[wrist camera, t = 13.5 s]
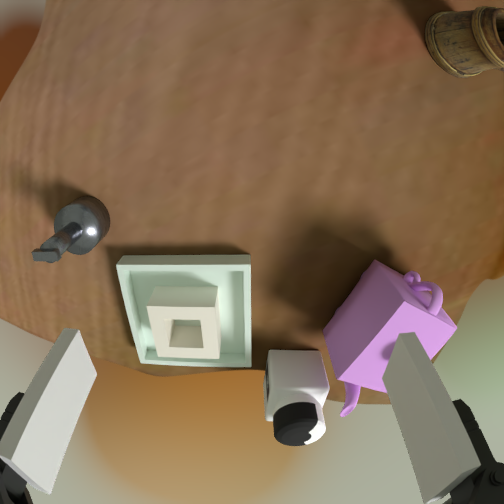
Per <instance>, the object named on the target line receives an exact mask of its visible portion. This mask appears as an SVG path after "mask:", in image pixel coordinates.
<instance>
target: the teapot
mask: <svg viewBox="0 0 504 504" xmlns="http://www.w3.org/2000/svg"><path fill="white" fill-rule="evenodd" d="M420 280H421V279H420V275H419V274H418V273H417V272H415V271H409V272H408V273H406V274H405V275H402V274H400V273H398V272H396V271H395V270H393V269H391V268H389V267H388V266H386V265H384V264H382V263H381V262H379V261H377V260H375V259H374V260H373V262H372V263H371V265H370V266H369V268H368V269H367V270H366V271H365V272H363V274H362V275H361V278H360V280H359V282H358V283H357V285H356V286H355V287H354V289H353V290H352V292H351V293H350V294H349V296H348V297H347V298H346V300H345V301H344V303H343V304H342V305H341V306H340V307H339V308H337V310H336V311H335V315H334V316H333V317H332V319H331V320H330V321H329V322H328V324H327V325H326V326H325V328H324V329H323V330H322V331H323V334H324V338H325V341H326V344H327V348H328V351H329V355H330V358H331V362H332V365H333V369H334V372H335V376H336V379H338V380H342V381H344V384H345V389H346V400H345V404H344V407H343V409H342V411H341V413H340V416H341V417H344V416H346V415H348V414H349V413H350V412H351V411H352V410H353V409H354V408H355V406H356V404H357V401H358V398H359V393H360V387H361V386H362V387H366V388H369V389H373V390H377V391H381V392H385V393H387V391H386V388H385V385H384V383H383V380H382V377H383V374H384V372H385V369H386V367H387V364H388V362H389V359H390V357H391V354H392V351H393V349H394V346H395V343H396V340H397V338H398V335H399V333H409V332H415V334H416V335H417V337H418V339H419V341H420V342H421V344H422V346H423V348H424V349H425V351H426V353H427V355H428V357H429V358H430V360H431V359H432V358H433V357H434V356H435V355H436V353H437V352H438V351H439V350H440V349H441V348H442V346H443V345H444V344H445V343H446V342H447V341H448V339H449V338H450V337H451V336H452V334H453V333H454V332H455V331H456V329H457V326H456V325H455V324H454V323H453V321H452V320H451V319H450V317H449V316H448V315H447V314H446V312H445V311H444V310H443V309H442V307H441V306H442V301H443V293H442V290H441V289H440V287H439V286H438V285H437V284H435V283H433V282H428V281H423V282H420ZM428 290H430V291H432V295H431V294H430V293H429V291H428Z"/></svg>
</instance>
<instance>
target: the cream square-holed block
mask: <svg viewBox="0 0 504 504" xmlns="http://www.w3.org/2000/svg"><path fill="white" fill-rule="evenodd" d="M147 311H148V316H149V320H150V325H151V329H152V334H153V338H154V342H155V346H156V351H157V355H158V357H174V358H198V359H219V357H220V348H221V338H222V335H221V321H220V307H219V293H218V287H194V286H156V287H155V289H154V291H153V293H152V295H151V297H150V299H149V301H148V304H147ZM175 319H178V320H200V322H201V326H179V325H175Z"/></svg>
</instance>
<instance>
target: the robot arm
mask: <svg viewBox="0 0 504 504" xmlns="http://www.w3.org/2000/svg"><path fill="white" fill-rule="evenodd" d="M96 376H97V373H96V371H95V368H94V366H93V364H92V361H91V359H90V357H89V354H88V352H87V349H86V347H85V344H84V342H83V339H82V337H81V334H80V331H79V330H78V329H70V328H64V329H63V331H62V333H61V334H60V336H59V337H58V339H57V340H56V342H55V343H54V345H53V347H52V349H51V350H50V352H49V353H48V355H47V356H46V358H45V360H44V361H43V363H42V365H41V366H40V368H39V370H38V371H37V373H36V375H35V377H34V378H33V380H32V382H31V384H30V385H29V387H28V389H27V391H26V392H25V394H24V393H20V392H19V393H18V394H17V395H15V396H14V397H13V398H12V399H11V400H10V402H9V404H8V405H7V407H6V409H5V412H4V413H3V415H2V417H1V420H0V504H33V502H32V499H31V497H30V494H29V491H28V490H27V488H26V484H27V482H28V483H29V484H30V485H31V486H32V487H34V488H35V489H37V490H40V491H42V492H44V493H47V494H51V492H52V489H53V486H54V483H55V480H56V477H57V474H58V471H59V468H60V465H61V462H62V460H63V457H64V454H65V451H66V449H67V446H68V443H69V441H70V438H71V436H72V433H73V430H74V428H75V425H76V423H77V420H78V418H79V415H80V413H81V410H82V408H83V406H84V403H85V401H86V399H87V396H88V394H89V392H90V389H91V387H92V385H93V382H94V380H95V378H96ZM382 380H383V383H384V385H385V388H386V391H387V393H388V396H389V399H390V401H391V404H392V407H393V410H394V412H395V415H396V418H397V421H398V424H399V426H400V429H401V432H402V435H403V438H404V441H405V444H406V447H407V450H408V453H409V456H410V459H411V462H412V465H413V469H414V472H415V475H416V478H417V482H418V485H419V488H420V492H421V495H422V499H423V502H424V504H428V503H431V502H433V501H436V500H439V499H442V498H443V497H444V496H446V495H447V494H448V493H449V492H450V495H451V498H450V499H448V500H447V501H446V502H444V503H443V504H504V464H503V463H499V462H496V461H495V459H494V457H493V455H492V453H491V451H490V449H489V446H488V444H487V442H486V440H485V438H484V436H483V433H482V431H481V429H479V425H478V423H477V421H475V417H474V415H473V413H472V411H471V409H470V407H469V406H467V405H466V404H465V403H464V402H463V401H462V400H461V399H459V400H455V401H451V398H450V396H449V394H448V392H447V391H446V388H445V387H444V385H443V383H442V381H441V379H440V377H439V375H438V373H437V371H436V369H435V368H434V366H433V364H432V362H431V360H430V358H429V357H428V355H427V353H426V351H425V349H424V348H423V346H422V344H421V342H420V341H419V339H418V337H417V335H416V334H415V332H409V333H399V335H398V338H397V340H396V343H395V346H394V349H393V351H392V354H391V357H390V359H389V362H388V364H387V367H386V369H385V372H384V374H383V377H382Z"/></svg>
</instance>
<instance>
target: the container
mask: <svg viewBox="0 0 504 504" xmlns="http://www.w3.org/2000/svg"><path fill="white" fill-rule="evenodd" d="M263 385H264V405H265V419H266V420H267V421H273V426H274V437H275V438H276V440H277V441H279V442H280V443H282V444H284V445H289V446H302V445H307V444H310V443H312V442H315V441H316V440H318V439H319V438H320V437H321V436H322V435H323V434H324V432H325V430H326V427H325V422H324V417H323V412H322V407H323V405H324V402H325V399H326V397H327V394H328V391H329V388H330V387H329V383H328V379H327V375H326V371H325V367H324V363H323V359H322V355H321V352H320V351H303V350H269V352H268V358H267V364H266V371H265V377H264V383H263Z"/></svg>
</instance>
